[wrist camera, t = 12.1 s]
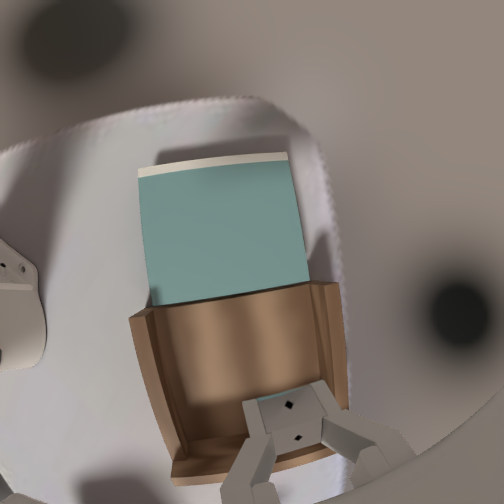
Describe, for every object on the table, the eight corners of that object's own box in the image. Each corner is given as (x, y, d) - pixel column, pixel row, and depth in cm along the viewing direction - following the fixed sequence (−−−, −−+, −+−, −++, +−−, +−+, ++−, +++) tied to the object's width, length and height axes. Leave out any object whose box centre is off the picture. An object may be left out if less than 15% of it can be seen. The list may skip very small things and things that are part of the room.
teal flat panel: (152, 306, 25) (137, 168, 26) (155, 304, 26) (140, 173, 27) (310, 280, 28) (286, 151, 29) (305, 280, 29) (283, 156, 30)
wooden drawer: (179, 437, 28) (174, 486, 18) (144, 308, 29) (118, 324, 19) (325, 407, 32) (361, 442, 22) (312, 280, 32) (353, 283, 23)
